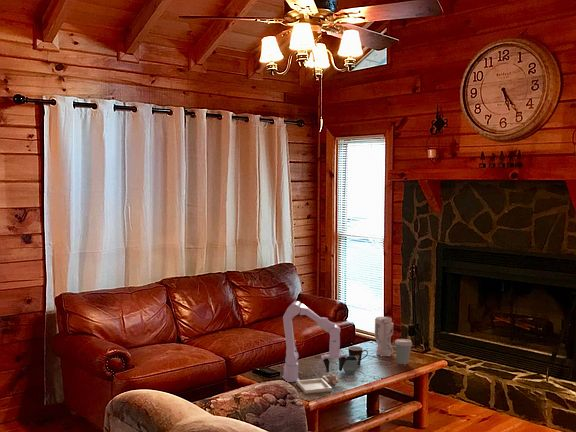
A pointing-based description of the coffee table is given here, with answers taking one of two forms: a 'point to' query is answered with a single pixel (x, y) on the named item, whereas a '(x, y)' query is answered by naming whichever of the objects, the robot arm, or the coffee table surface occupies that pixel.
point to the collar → (332, 380)
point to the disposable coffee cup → (403, 350)
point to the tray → (314, 386)
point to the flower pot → (350, 365)
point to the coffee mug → (356, 352)
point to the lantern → (383, 335)
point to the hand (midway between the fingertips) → (333, 371)
